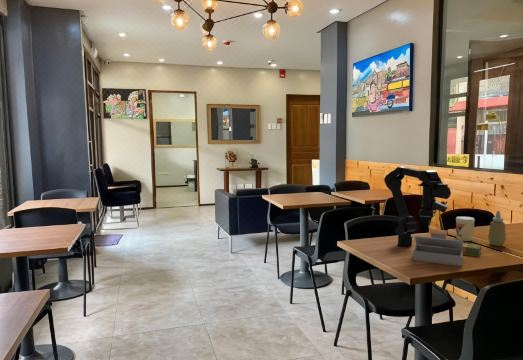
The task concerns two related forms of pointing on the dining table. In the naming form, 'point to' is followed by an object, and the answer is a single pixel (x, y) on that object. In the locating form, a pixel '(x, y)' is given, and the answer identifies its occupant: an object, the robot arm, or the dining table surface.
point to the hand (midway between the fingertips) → (427, 227)
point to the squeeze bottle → (497, 231)
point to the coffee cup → (464, 228)
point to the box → (438, 255)
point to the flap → (439, 240)
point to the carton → (471, 249)
